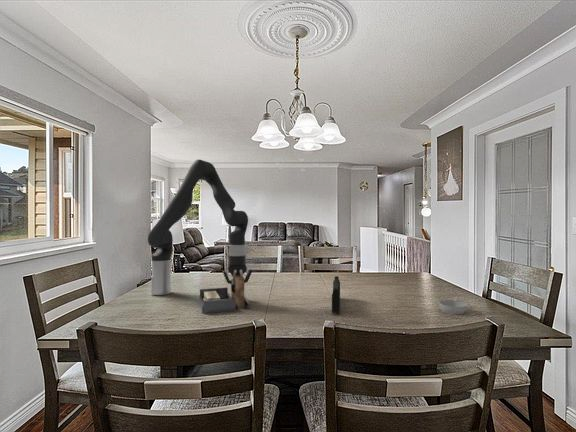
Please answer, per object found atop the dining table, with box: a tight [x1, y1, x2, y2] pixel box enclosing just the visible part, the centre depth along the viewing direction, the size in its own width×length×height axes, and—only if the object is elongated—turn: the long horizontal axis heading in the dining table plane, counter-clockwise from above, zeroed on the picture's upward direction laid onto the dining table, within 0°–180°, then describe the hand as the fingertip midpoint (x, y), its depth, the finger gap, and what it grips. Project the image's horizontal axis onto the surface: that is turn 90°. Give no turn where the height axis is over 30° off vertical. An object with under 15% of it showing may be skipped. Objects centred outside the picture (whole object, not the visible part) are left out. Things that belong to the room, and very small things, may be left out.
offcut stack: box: [203, 291, 220, 302], centre depth 163 cm, size 6×18×5 cm, turn 19°
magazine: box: [331, 276, 341, 314], centre depth 160 cm, size 17×3×30 cm
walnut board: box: [230, 274, 245, 309], centre depth 166 cm, size 3×18×13 cm, turn 17°
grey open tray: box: [198, 287, 251, 315], centre depth 164 cm, size 20×25×5 cm
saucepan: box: [438, 296, 468, 315], centre depth 155 cm, size 11×18×4 cm, turn 148°
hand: (237, 291), depth 166 cm, fingers closed on walnut board, 3 cm apart
